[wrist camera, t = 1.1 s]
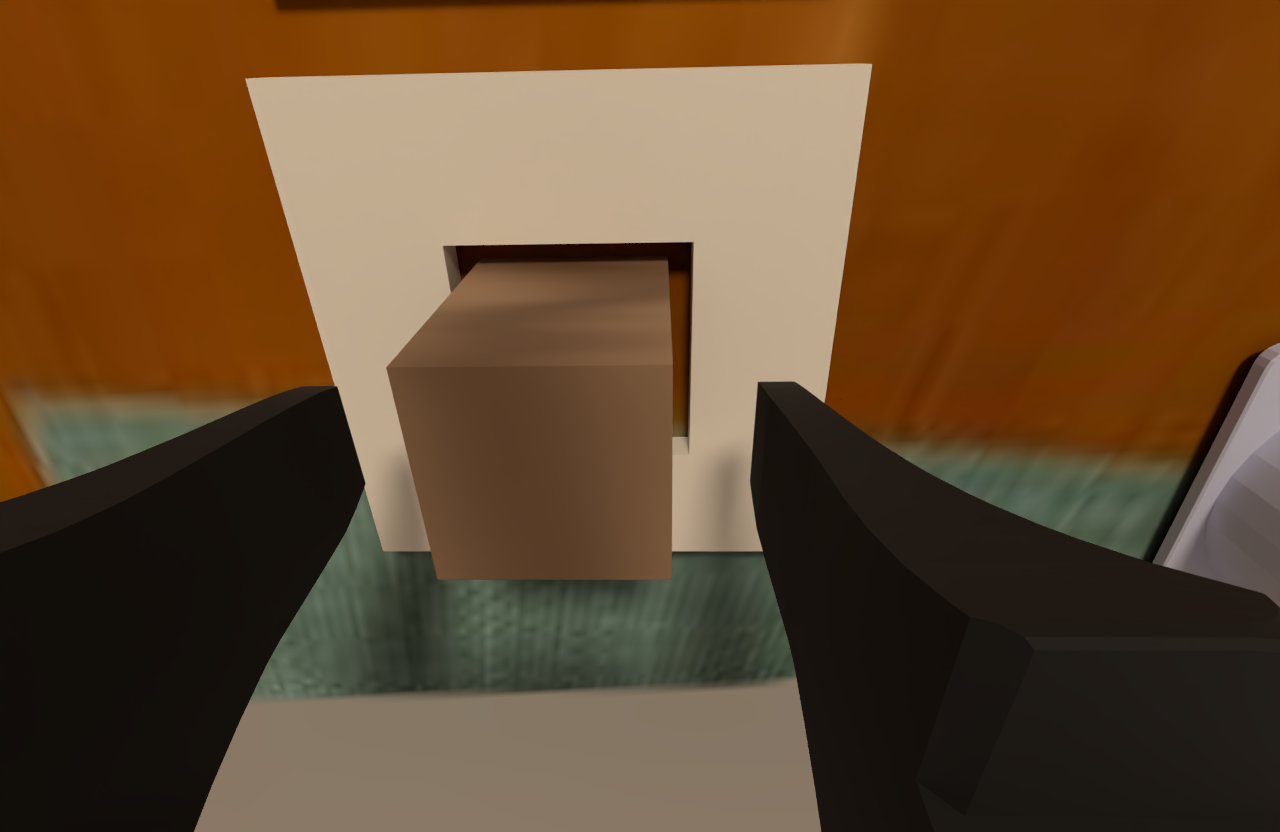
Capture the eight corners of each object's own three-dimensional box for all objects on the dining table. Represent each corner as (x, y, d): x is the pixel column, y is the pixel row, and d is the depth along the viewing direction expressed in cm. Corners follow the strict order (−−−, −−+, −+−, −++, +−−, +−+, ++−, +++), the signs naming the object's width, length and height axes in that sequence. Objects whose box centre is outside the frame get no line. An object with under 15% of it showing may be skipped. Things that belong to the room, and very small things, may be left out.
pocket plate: (859, 63, 12) (872, 64, 11) (797, 531, 17) (803, 551, 16) (268, 77, 12) (245, 79, 11) (393, 531, 17) (383, 551, 17)
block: (667, 255, 13) (672, 365, 9) (667, 418, 15) (671, 579, 11) (481, 258, 14) (386, 367, 9) (504, 418, 16) (437, 579, 11)
